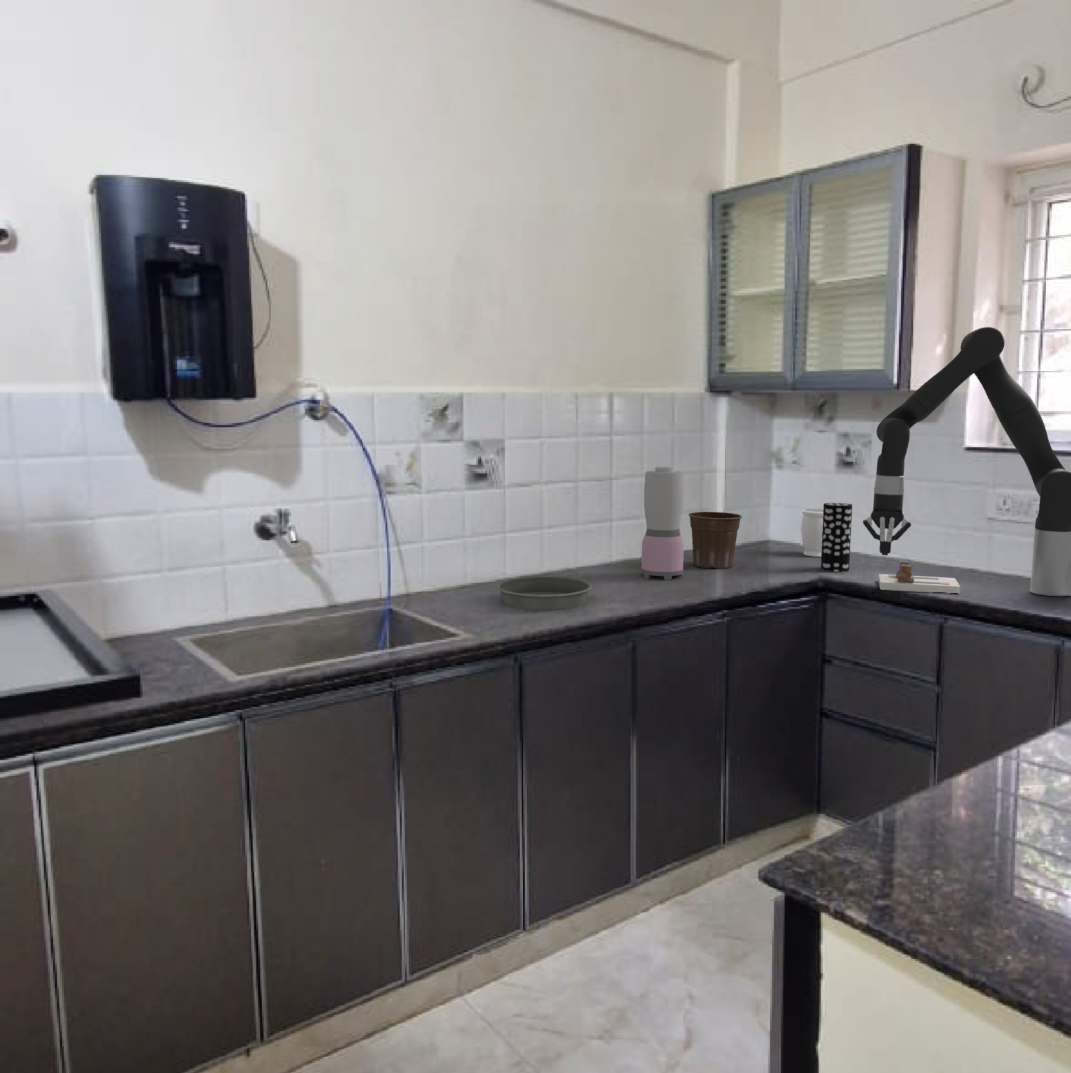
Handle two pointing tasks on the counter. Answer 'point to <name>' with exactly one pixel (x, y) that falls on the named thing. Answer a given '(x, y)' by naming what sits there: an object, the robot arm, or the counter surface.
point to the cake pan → (544, 592)
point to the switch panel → (919, 584)
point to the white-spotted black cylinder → (836, 537)
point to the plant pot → (714, 538)
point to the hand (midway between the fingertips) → (884, 554)
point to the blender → (663, 523)
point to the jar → (812, 532)
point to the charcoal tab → (900, 567)
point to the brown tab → (905, 574)
